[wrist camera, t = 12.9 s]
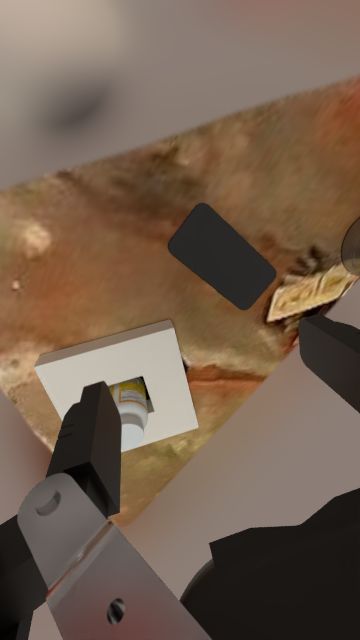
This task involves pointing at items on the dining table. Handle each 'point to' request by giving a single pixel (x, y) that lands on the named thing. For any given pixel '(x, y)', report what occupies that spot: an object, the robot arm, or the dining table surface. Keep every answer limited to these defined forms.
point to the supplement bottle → (131, 410)
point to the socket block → (126, 375)
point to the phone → (221, 257)
